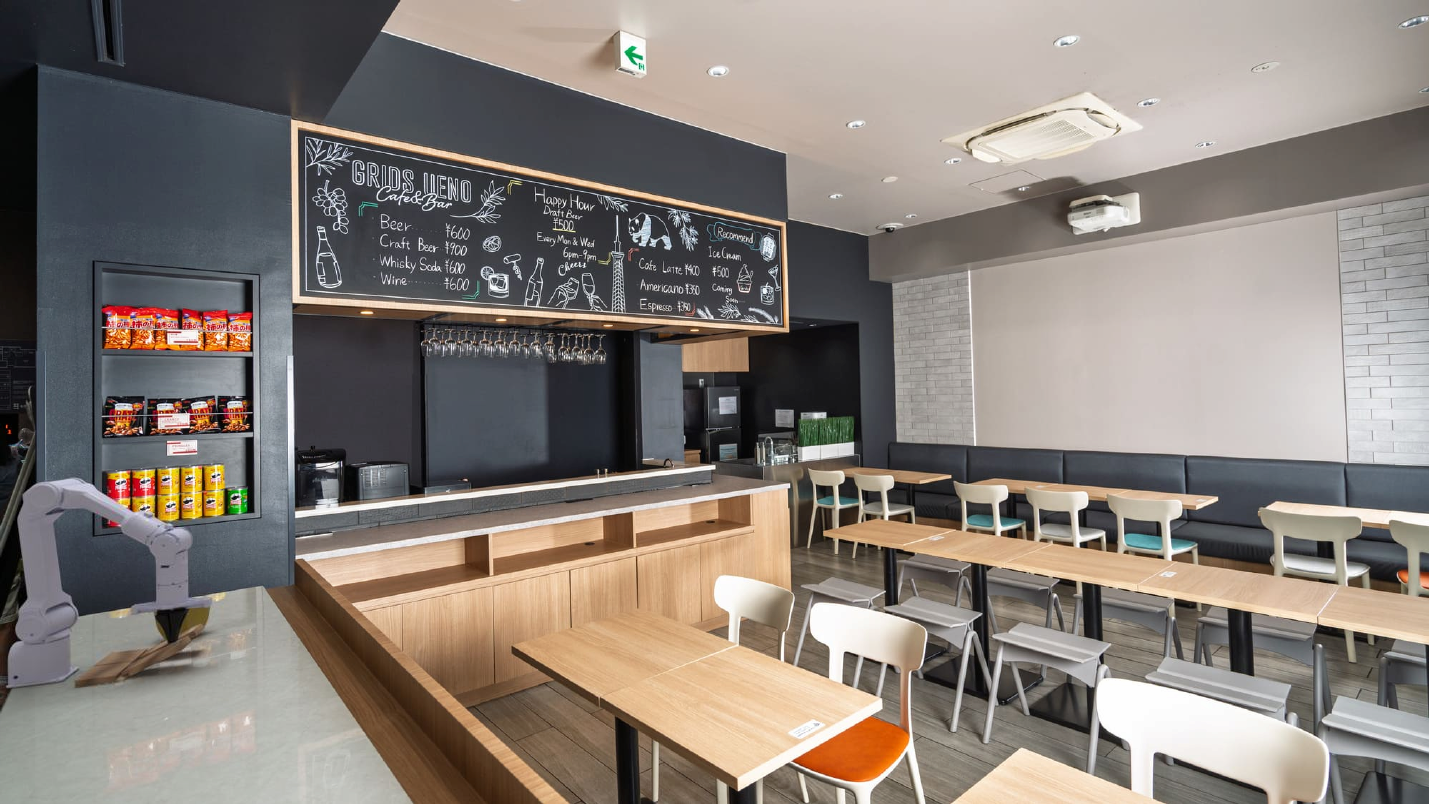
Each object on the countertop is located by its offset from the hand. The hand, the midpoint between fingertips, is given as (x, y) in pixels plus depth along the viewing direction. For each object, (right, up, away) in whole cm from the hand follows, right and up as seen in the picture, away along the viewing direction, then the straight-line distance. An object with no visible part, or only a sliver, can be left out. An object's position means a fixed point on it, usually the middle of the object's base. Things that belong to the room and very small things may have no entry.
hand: (172, 641), depth 156 cm
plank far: (-6, -4, +8) cm, 11 cm away
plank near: (-2, -4, -1) cm, 5 cm away
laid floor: (-13, -6, 0) cm, 14 cm away
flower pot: (-14, -7, +21) cm, 26 cm away
